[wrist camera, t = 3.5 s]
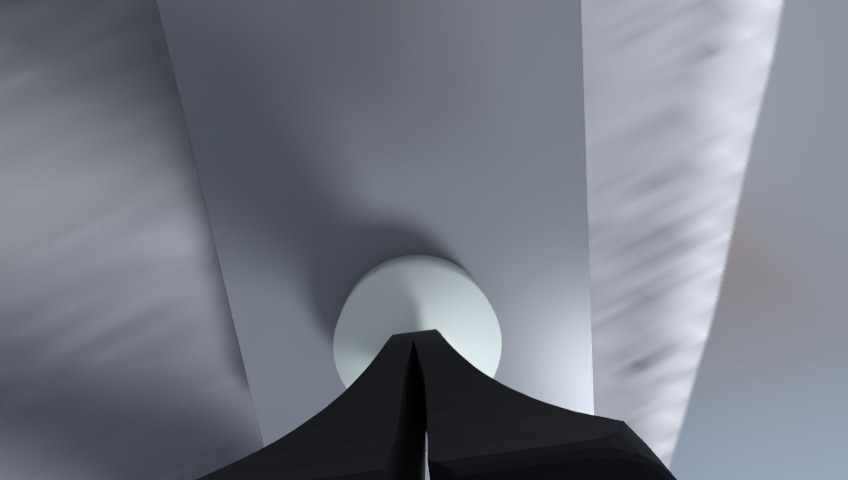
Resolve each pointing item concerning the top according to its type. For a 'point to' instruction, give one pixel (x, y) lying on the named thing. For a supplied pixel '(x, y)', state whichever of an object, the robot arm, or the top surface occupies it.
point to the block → (389, 174)
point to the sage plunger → (415, 313)
